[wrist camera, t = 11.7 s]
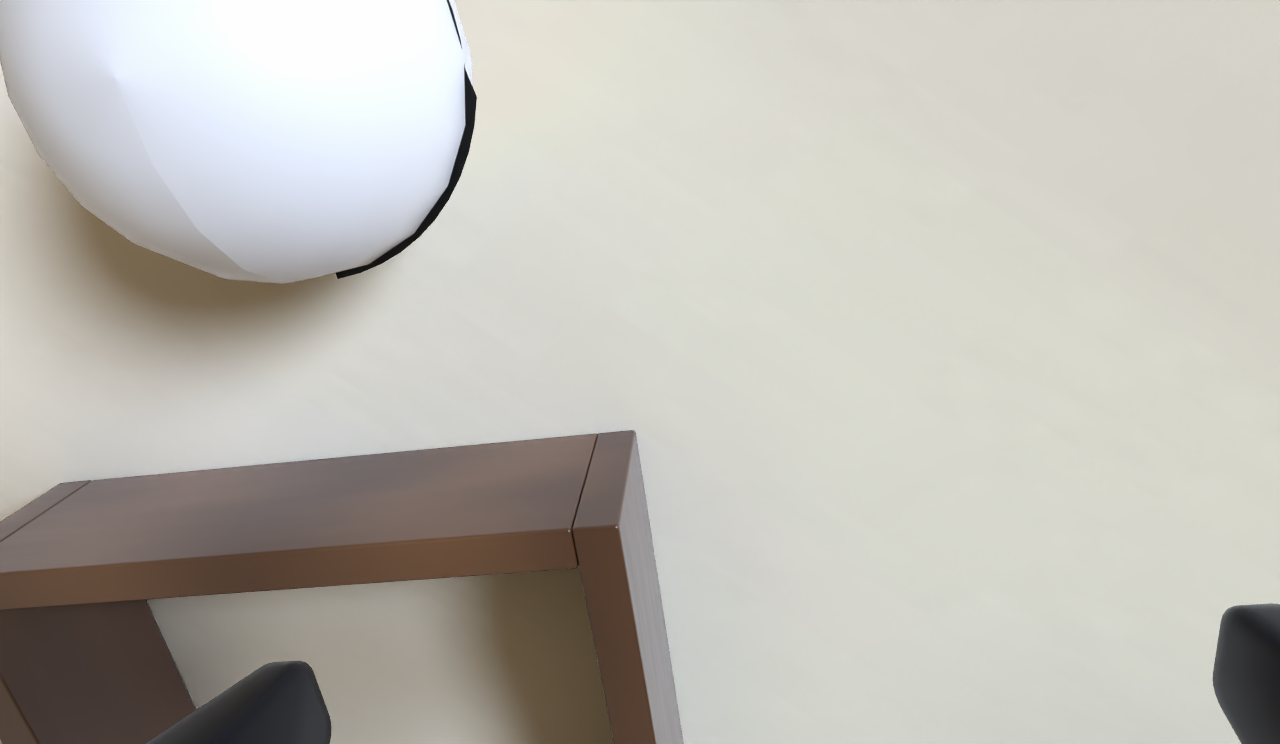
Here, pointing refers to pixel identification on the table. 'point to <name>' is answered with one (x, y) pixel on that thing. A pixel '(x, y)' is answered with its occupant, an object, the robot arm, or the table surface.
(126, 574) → the crate
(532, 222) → the table surface
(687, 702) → the table surface
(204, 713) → the robot arm
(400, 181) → the seamed sphere
